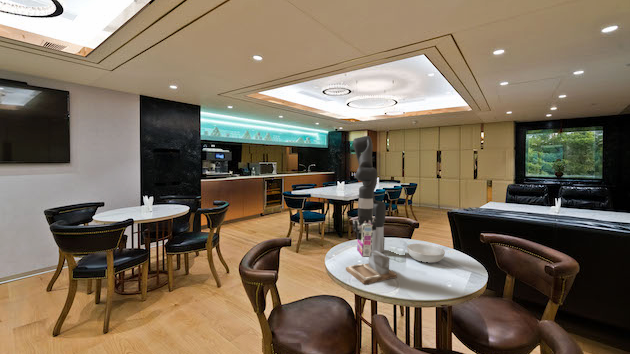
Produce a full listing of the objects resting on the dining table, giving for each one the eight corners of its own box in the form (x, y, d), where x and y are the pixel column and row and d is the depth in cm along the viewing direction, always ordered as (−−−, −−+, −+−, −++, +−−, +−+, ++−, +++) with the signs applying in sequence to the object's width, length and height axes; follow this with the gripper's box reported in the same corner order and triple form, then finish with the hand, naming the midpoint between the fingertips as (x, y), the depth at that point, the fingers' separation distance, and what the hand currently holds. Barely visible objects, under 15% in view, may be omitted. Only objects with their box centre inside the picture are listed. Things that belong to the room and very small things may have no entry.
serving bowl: (440, 255, 165) (441, 244, 164) (447, 269, 145) (448, 256, 144) (405, 251, 170) (406, 241, 170) (407, 264, 150) (408, 252, 150)
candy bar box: (372, 257, 130) (373, 224, 129) (362, 257, 129) (363, 224, 128) (365, 249, 141) (366, 219, 140) (356, 249, 141) (357, 219, 139)
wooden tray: (376, 264, 149) (377, 248, 148) (396, 277, 134) (397, 259, 133) (345, 270, 141) (346, 252, 141) (363, 284, 126) (363, 265, 125)
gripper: (373, 204, 140) (372, 235, 141) (349, 206, 134) (348, 238, 135) (381, 207, 133) (380, 239, 134) (357, 208, 127) (356, 242, 129)
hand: (364, 238), depth 135 cm, fingers closed on candy bar box, 6 cm apart
